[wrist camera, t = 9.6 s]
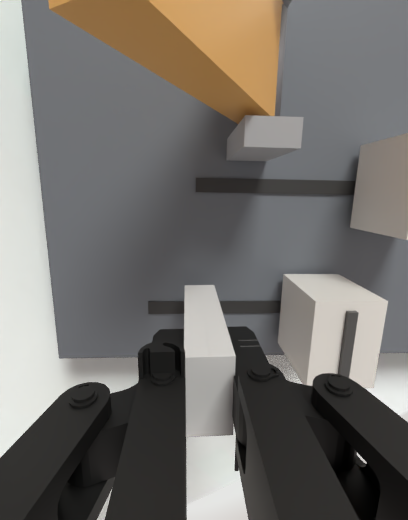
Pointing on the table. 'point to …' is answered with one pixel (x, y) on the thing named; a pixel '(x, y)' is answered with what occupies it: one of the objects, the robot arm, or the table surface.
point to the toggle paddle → (197, 46)
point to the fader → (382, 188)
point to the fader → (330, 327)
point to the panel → (212, 179)
